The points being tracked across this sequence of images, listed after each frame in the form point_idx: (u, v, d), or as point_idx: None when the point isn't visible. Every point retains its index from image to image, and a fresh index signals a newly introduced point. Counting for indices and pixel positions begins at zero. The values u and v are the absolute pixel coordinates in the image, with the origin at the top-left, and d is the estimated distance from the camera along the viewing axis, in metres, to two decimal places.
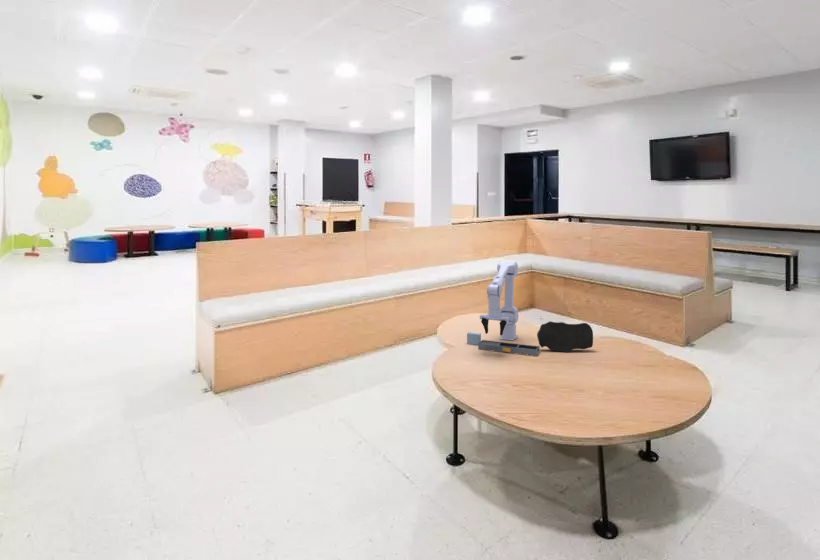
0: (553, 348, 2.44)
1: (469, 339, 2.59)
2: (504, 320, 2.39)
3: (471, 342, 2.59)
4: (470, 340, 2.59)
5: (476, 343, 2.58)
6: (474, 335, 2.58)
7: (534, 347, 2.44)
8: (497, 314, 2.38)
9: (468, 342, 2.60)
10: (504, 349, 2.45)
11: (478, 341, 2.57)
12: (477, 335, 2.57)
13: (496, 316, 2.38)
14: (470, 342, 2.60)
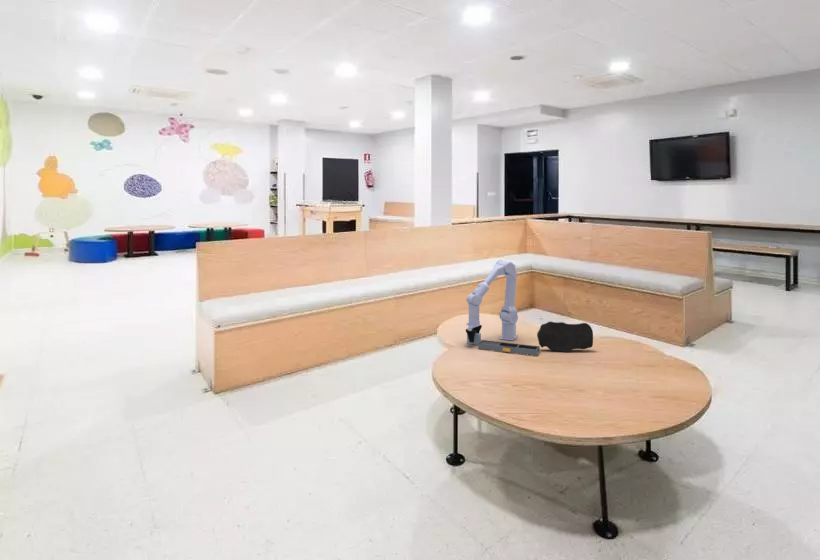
0: (553, 349, 2.44)
1: None
2: None
3: (471, 342, 2.59)
4: None
5: (476, 343, 2.58)
6: None
7: (534, 347, 2.44)
8: (469, 321, 2.57)
9: (468, 342, 2.60)
10: (504, 349, 2.45)
11: (478, 341, 2.57)
12: (477, 335, 2.57)
13: (469, 323, 2.57)
14: (470, 342, 2.60)
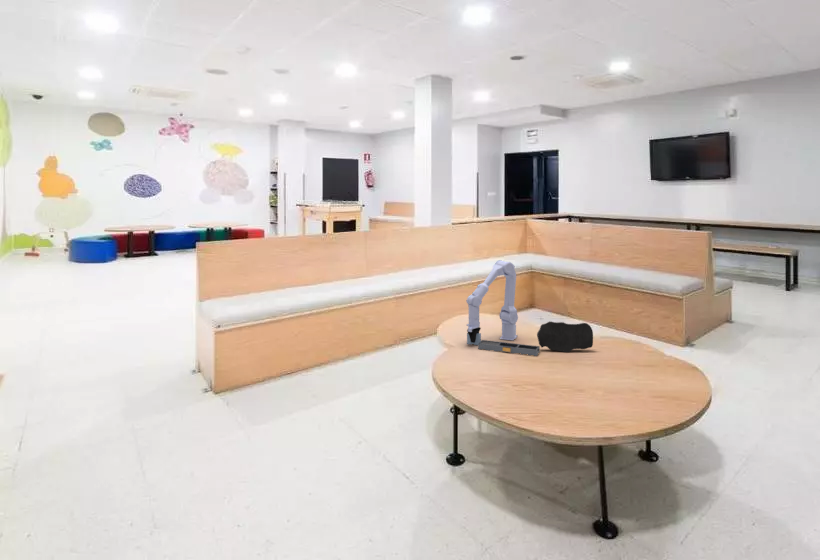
0: (553, 349, 2.44)
1: (469, 339, 2.59)
2: None
3: (471, 342, 2.59)
4: (470, 340, 2.59)
5: (476, 343, 2.58)
6: None
7: (534, 347, 2.44)
8: (469, 322, 2.57)
9: (468, 342, 2.60)
10: (504, 349, 2.45)
11: (478, 341, 2.57)
12: (477, 335, 2.57)
13: (469, 324, 2.57)
14: (470, 342, 2.59)
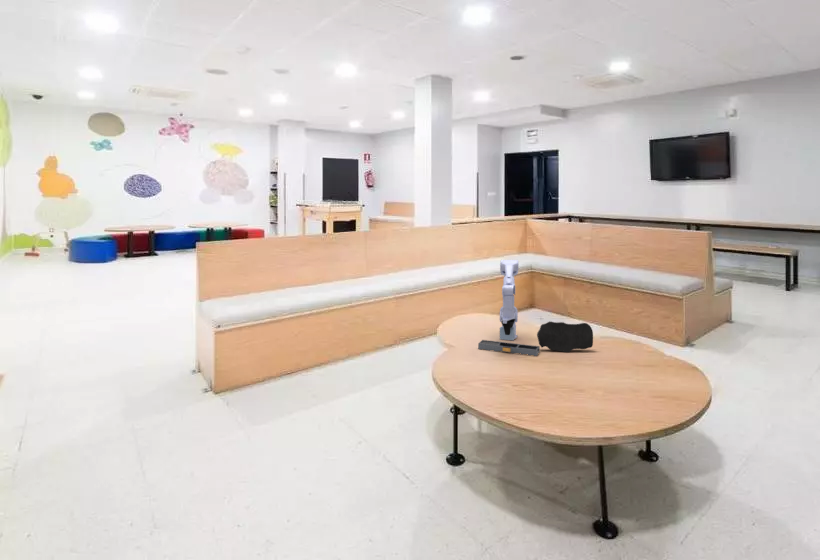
0: (553, 349, 2.44)
1: (502, 334, 2.46)
2: None
3: (504, 337, 2.46)
4: (503, 335, 2.46)
5: (510, 338, 2.45)
6: None
7: (534, 347, 2.44)
8: (504, 314, 2.43)
9: (501, 337, 2.47)
10: (504, 349, 2.45)
11: (512, 336, 2.44)
12: (511, 329, 2.44)
13: (503, 315, 2.44)
14: (503, 337, 2.47)
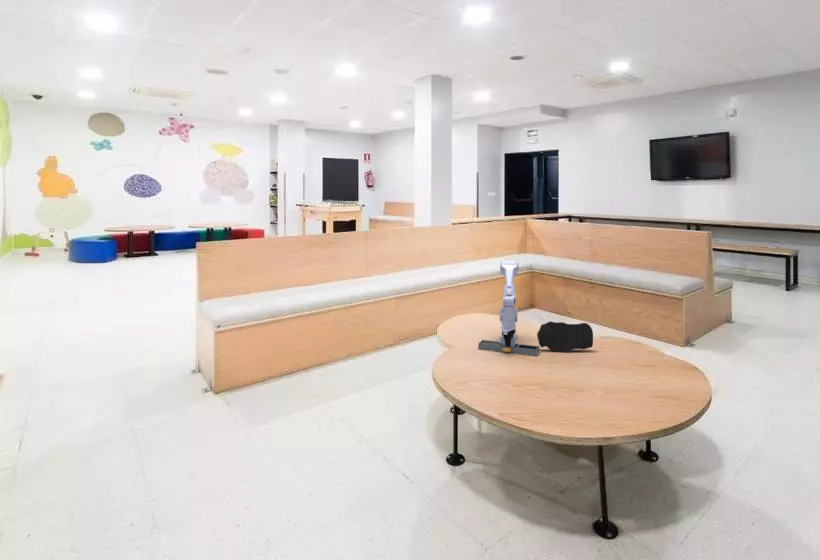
0: (553, 349, 2.44)
1: (503, 344, 2.47)
2: None
3: None
4: (504, 345, 2.47)
5: None
6: None
7: (534, 347, 2.44)
8: (504, 324, 2.44)
9: None
10: (504, 349, 2.45)
11: (513, 346, 2.45)
12: (512, 340, 2.45)
13: (503, 326, 2.45)
14: None
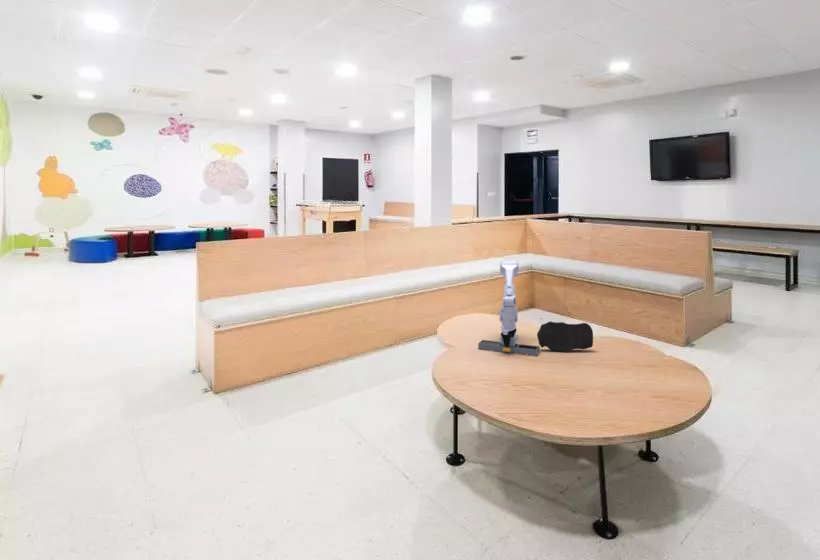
0: (553, 349, 2.44)
1: (503, 344, 2.47)
2: None
3: None
4: None
5: None
6: None
7: (534, 347, 2.44)
8: (504, 325, 2.44)
9: None
10: (504, 349, 2.45)
11: (513, 346, 2.45)
12: (512, 340, 2.45)
13: (503, 326, 2.45)
14: None
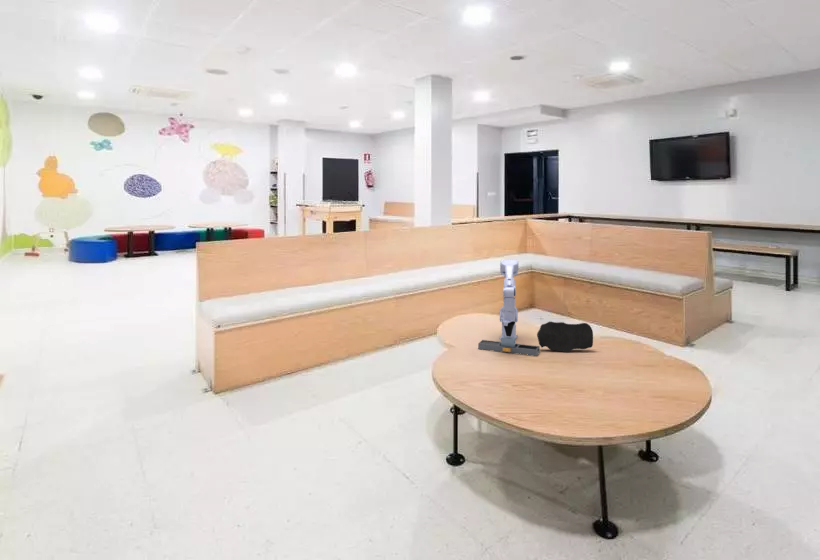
0: (553, 349, 2.44)
1: (503, 344, 2.47)
2: None
3: None
4: (504, 345, 2.47)
5: None
6: (508, 340, 2.46)
7: (534, 347, 2.44)
8: (504, 316, 2.43)
9: None
10: (504, 349, 2.45)
11: (513, 346, 2.45)
12: (512, 340, 2.45)
13: (503, 317, 2.44)
14: None
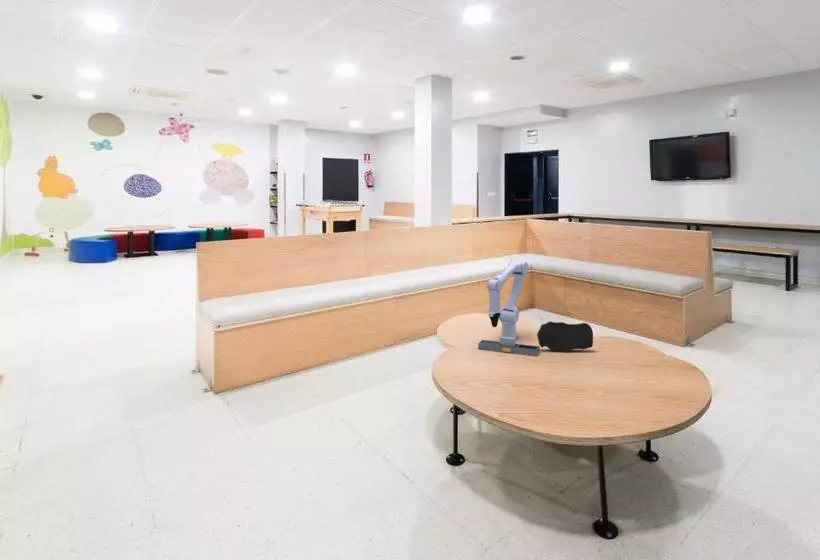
0: (553, 349, 2.44)
1: (503, 344, 2.47)
2: None
3: None
4: (504, 345, 2.47)
5: None
6: (508, 340, 2.46)
7: (534, 347, 2.44)
8: (490, 307, 2.53)
9: None
10: (504, 349, 2.45)
11: (513, 346, 2.45)
12: (512, 340, 2.45)
13: (489, 309, 2.54)
14: None
